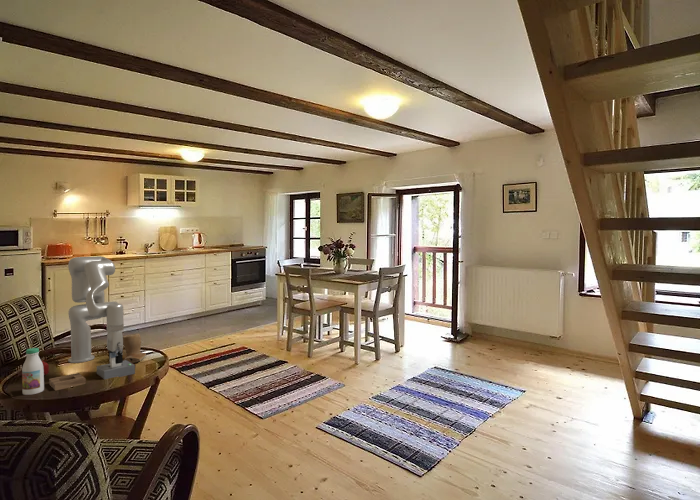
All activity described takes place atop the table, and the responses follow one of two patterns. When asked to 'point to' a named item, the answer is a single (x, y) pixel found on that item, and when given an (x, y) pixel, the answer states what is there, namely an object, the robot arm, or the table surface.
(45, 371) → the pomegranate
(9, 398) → the table surface
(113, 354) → the plug
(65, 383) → the slotted socket block
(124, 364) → the port block
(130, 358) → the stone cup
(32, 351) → the milk bottle
